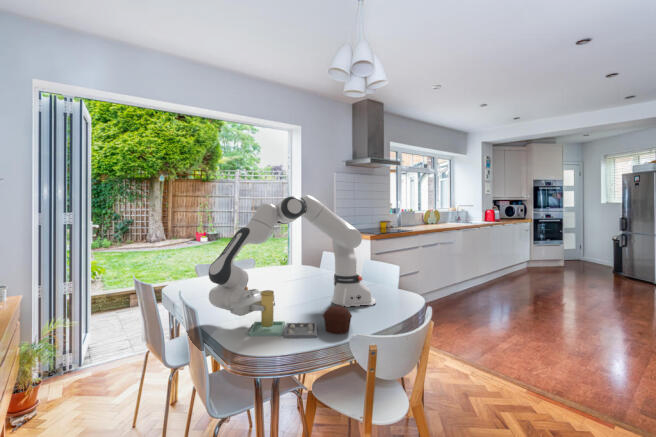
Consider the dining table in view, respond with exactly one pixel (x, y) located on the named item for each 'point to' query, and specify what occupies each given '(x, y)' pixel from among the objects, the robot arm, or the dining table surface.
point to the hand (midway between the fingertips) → (269, 306)
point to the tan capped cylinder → (267, 308)
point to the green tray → (267, 329)
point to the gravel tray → (300, 330)
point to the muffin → (337, 319)
